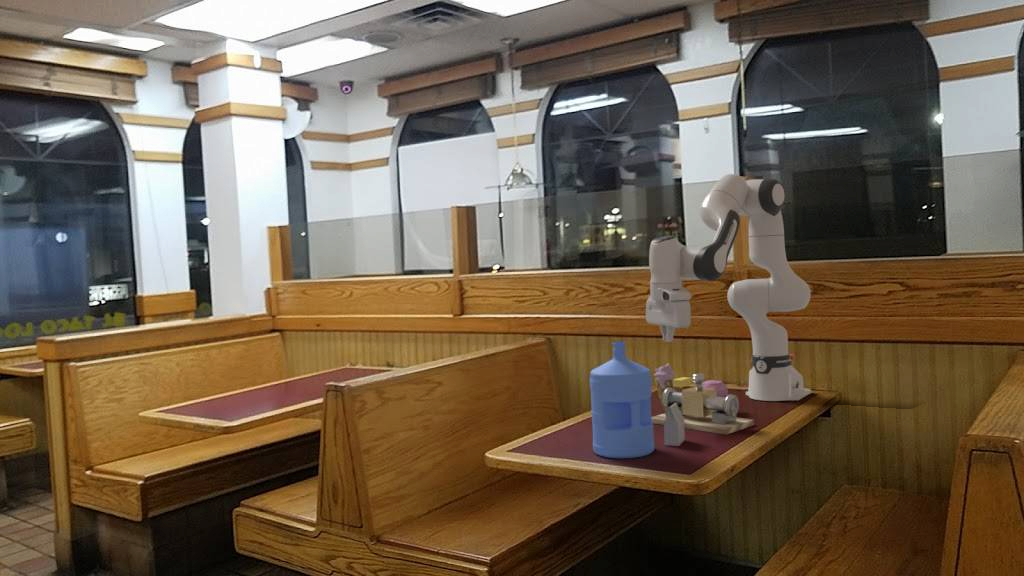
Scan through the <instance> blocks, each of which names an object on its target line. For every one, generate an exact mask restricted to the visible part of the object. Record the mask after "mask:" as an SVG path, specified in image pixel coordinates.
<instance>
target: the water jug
mask: <svg viewBox="0 0 1024 576" xmlns="http://www.w3.org/2000/svg"><path fill="white" fill-rule="evenodd" d="M625 345H626V342H625V341H617V342H616V341H615V342H612V346H613V348H612V352H613V356H612V358H611V359H609V360H608V361H606V362H605V363H602V364H601V365H599V366H597V367H595V368H593V369H592V370H591V371H590V373H589V374H590V376H589V387H590V401H591V402H590V403H591V412H590V415H591V421H592V450H593V452H594V453H595V454H596V455H598V456H600V457H604V458H608V459H634V458H635V459H636V458H643V457H645V456H648V455H650V454H651V453H653V452H654V450H655V440H654V424H653V423H652V419H651V417H652V403H651V402H652V401H651V399H652V398H651V397H652V394H653V393H652V392H653V391H652V386H653V380H652V375H651V374H652V372H651V369H649V368H648V367H646V366H644V365H641V364H639V363H637V362H636V361H632V360H630V359H628V358H627V356H626V346H625Z"/></svg>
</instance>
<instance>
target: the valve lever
mask: <svg viewBox="0 0 1024 576" xmlns="http://www.w3.org/2000/svg"><path fill="white" fill-rule="evenodd" d="M705 381H706V380H705V373H693V374H692V377H687V376H682V377H678V378H674V379H673V388H684V387H688V386H692V385H693V383H695V382H698V383H699V382H705Z"/></svg>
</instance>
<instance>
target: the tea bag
mask: <svg viewBox="0 0 1024 576" xmlns="http://www.w3.org/2000/svg"><path fill="white" fill-rule="evenodd" d="M663 432H664V433H663V434H664V435H663V437H664V446H666V447H667V446H671V447H679V446H681V444H683V442H684V441H685V440H686V437H685V436H686V435H685V433H686V432H685V428H684V417H683V416H682V414H681V412H680V410H679V408H678V405H677V403H675V404H673V405H672V406H671V407H669V411H668V414H667V417H666V419H665V421H664V425H663Z"/></svg>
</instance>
